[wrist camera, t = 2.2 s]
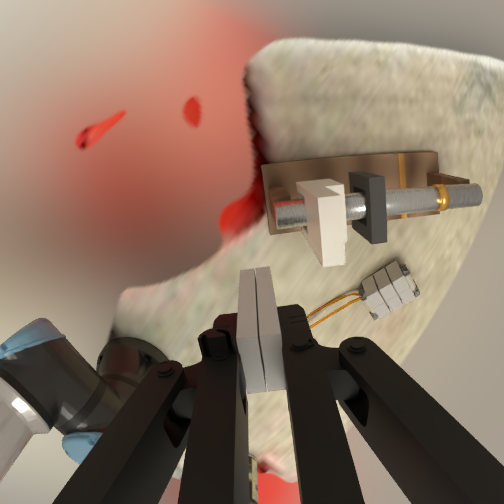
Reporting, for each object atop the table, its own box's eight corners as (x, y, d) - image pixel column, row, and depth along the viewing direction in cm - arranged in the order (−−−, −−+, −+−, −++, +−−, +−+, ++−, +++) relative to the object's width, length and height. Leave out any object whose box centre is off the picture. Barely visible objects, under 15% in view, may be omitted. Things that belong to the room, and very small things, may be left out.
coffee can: (206, 459, 65) (201, 505, 52) (239, 445, 63) (238, 495, 50) (233, 475, 68) (232, 519, 54) (266, 463, 66) (268, 510, 52)
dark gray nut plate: (352, 228, 39) (372, 244, 32) (348, 172, 37) (368, 177, 30) (365, 226, 39) (387, 242, 32) (362, 170, 37) (384, 176, 30)
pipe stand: (269, 232, 48) (275, 255, 38) (260, 164, 45) (264, 169, 35) (434, 212, 47) (471, 227, 37) (432, 151, 44) (471, 156, 34)
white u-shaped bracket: (301, 231, 39) (323, 267, 27) (296, 182, 37) (317, 197, 25) (333, 227, 38) (366, 261, 27) (329, 178, 37) (363, 192, 25)
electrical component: (297, 343, 58) (297, 362, 54) (279, 322, 56) (277, 340, 52) (413, 280, 49) (422, 296, 45) (400, 254, 48) (408, 268, 43)
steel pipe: (276, 226, 37) (278, 234, 34) (272, 198, 36) (275, 203, 33) (468, 204, 36) (483, 209, 33) (468, 180, 35) (483, 184, 32)
